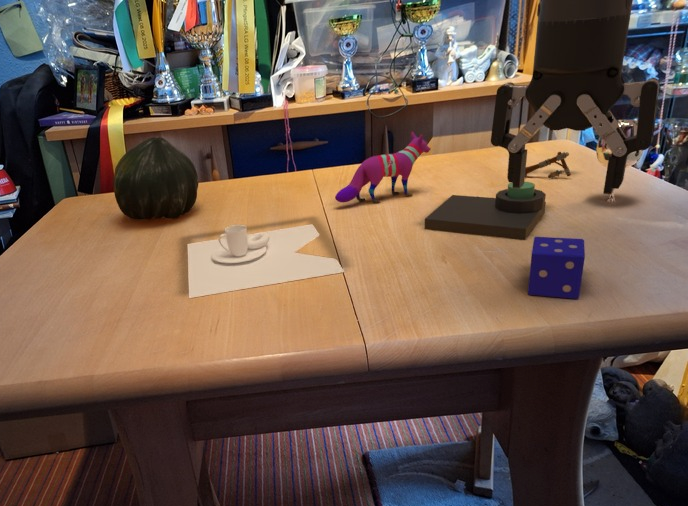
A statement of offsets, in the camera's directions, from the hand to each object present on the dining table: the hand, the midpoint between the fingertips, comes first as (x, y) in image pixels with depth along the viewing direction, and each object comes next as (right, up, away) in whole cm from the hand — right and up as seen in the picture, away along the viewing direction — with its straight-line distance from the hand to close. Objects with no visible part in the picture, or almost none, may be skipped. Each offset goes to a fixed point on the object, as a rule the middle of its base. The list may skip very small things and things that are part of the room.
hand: (561, 189), depth 58 cm
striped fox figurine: (-11, +6, +40) cm, 42 cm away
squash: (-51, +4, +45) cm, 68 cm away
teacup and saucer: (-32, -5, +22) cm, 39 cm away
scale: (+1, 0, +25) cm, 25 cm away
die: (+1, -10, +5) cm, 11 cm away
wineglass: (+20, +2, +25) cm, 32 cm away
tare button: (+6, +4, +24) cm, 25 cm away
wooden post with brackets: (+17, +10, +42) cm, 46 cm away
